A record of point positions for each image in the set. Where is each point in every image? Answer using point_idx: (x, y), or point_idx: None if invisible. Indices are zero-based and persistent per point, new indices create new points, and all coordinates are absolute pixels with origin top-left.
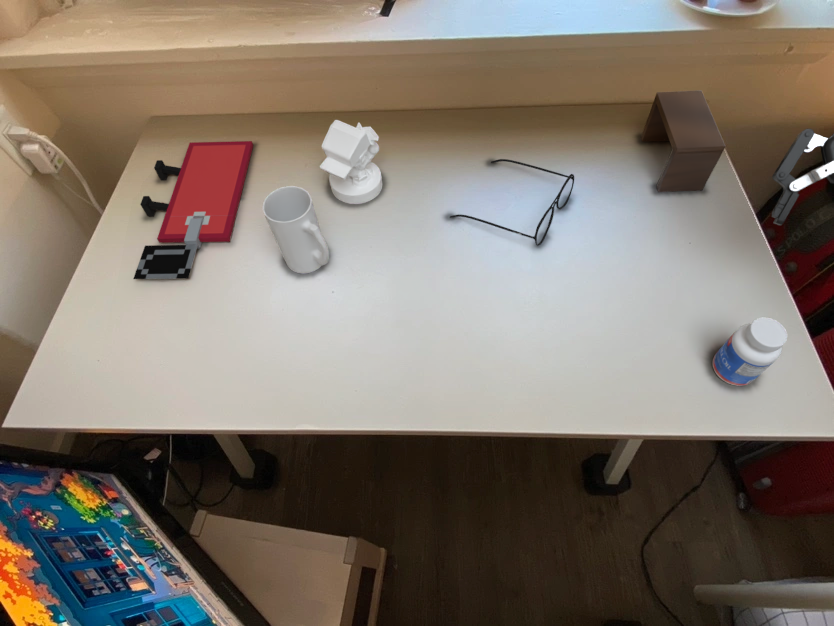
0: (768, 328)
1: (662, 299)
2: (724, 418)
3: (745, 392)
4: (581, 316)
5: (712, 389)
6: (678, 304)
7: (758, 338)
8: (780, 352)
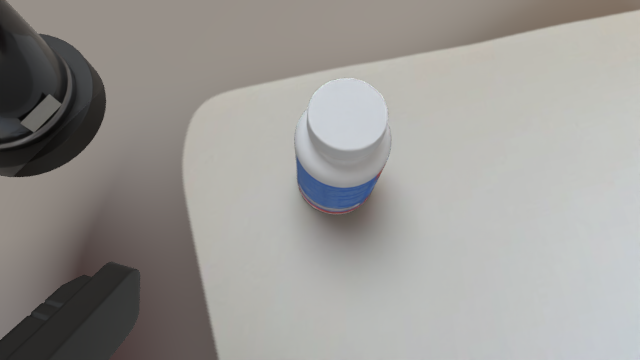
0: (349, 120)
1: (478, 308)
2: None
3: None
4: (619, 225)
5: None
6: (445, 303)
7: (371, 91)
8: (301, 119)
